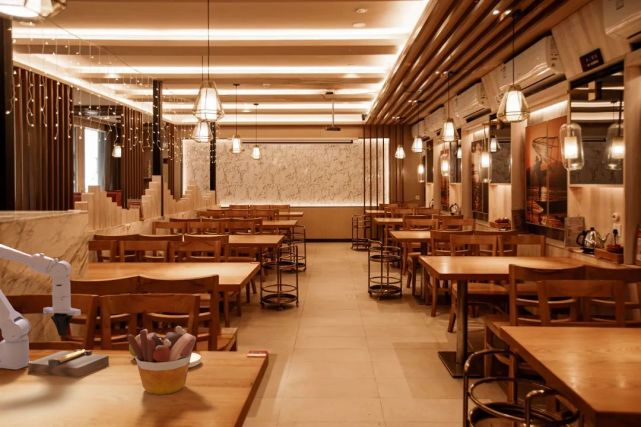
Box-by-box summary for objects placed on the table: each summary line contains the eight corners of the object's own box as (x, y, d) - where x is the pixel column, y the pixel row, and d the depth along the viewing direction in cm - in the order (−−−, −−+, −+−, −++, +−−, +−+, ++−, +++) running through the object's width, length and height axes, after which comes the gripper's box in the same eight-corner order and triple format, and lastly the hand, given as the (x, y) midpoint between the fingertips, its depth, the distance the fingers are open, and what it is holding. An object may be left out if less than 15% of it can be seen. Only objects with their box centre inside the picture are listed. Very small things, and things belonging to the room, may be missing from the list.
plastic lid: (186, 357, 202) (186, 350, 202) (209, 365, 192) (208, 357, 192) (151, 365, 192) (151, 358, 192) (173, 374, 182) (172, 367, 182)
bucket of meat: (164, 376, 180) (163, 314, 179) (206, 383, 173) (205, 319, 172) (117, 396, 162) (116, 328, 161) (161, 405, 154) (160, 334, 154)
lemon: (140, 360, 196) (140, 338, 196) (126, 360, 198) (125, 337, 197) (148, 356, 202) (148, 334, 202) (134, 355, 203) (134, 333, 203)
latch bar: (53, 362, 184) (53, 359, 184) (80, 352, 196) (80, 349, 196) (60, 363, 183) (60, 360, 183) (87, 353, 195) (87, 350, 195)
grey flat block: (28, 371, 185) (28, 358, 185) (62, 359, 199) (62, 346, 199) (76, 377, 179) (76, 363, 178) (108, 364, 193) (108, 350, 193)
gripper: (35, 297, 192) (36, 336, 192) (69, 299, 187) (70, 339, 188) (51, 293, 199) (52, 331, 199) (84, 295, 194) (85, 334, 194)
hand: (62, 335), depth 194 cm, fingers closed
